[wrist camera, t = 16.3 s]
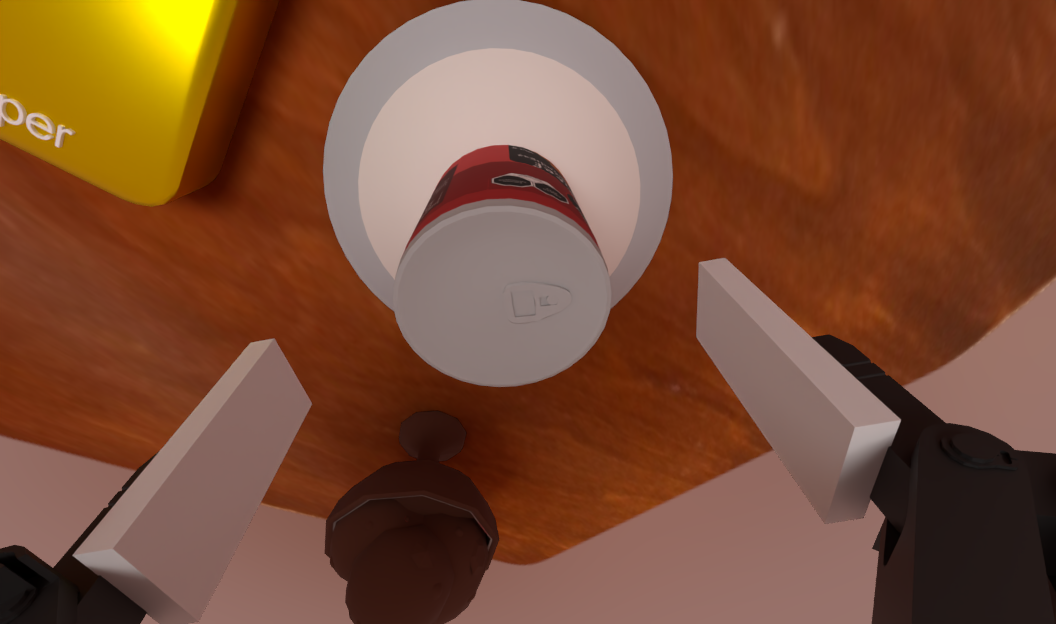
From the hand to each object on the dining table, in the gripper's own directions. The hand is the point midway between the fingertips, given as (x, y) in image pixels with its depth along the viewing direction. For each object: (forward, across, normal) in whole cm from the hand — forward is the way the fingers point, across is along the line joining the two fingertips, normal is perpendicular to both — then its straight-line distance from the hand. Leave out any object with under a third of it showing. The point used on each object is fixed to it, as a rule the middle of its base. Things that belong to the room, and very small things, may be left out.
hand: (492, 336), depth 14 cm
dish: (+15, 0, 0) cm, 15 cm away
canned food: (+13, 0, 0) cm, 13 cm away
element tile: (+16, -16, +13) cm, 26 cm away
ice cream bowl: (+15, -9, -18) cm, 25 cm away
